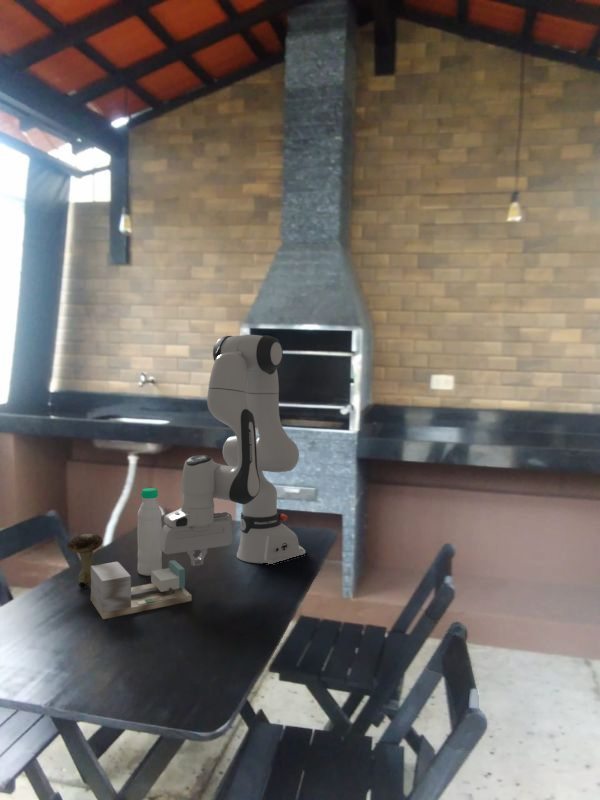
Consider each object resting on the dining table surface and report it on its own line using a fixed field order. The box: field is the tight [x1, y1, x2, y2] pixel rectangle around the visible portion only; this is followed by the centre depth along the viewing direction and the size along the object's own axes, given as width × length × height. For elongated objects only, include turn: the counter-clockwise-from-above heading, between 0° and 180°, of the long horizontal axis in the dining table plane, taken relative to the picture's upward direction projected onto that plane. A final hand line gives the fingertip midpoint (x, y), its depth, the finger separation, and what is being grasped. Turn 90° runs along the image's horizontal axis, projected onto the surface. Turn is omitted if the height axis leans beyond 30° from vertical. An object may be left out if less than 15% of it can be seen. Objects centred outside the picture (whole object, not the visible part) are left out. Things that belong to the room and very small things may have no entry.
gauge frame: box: [90, 561, 193, 620], centre depth 164 cm, size 23×13×10 cm, turn 121°
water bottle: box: [136, 487, 163, 577], centre depth 184 cm, size 7×7×25 cm
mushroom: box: [66, 533, 104, 589], centre depth 172 cm, size 9×9×15 cm
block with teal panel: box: [150, 559, 186, 593], centre depth 167 cm, size 7×10×5 cm, turn 32°
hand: (196, 564), depth 172 cm, fingers closed
